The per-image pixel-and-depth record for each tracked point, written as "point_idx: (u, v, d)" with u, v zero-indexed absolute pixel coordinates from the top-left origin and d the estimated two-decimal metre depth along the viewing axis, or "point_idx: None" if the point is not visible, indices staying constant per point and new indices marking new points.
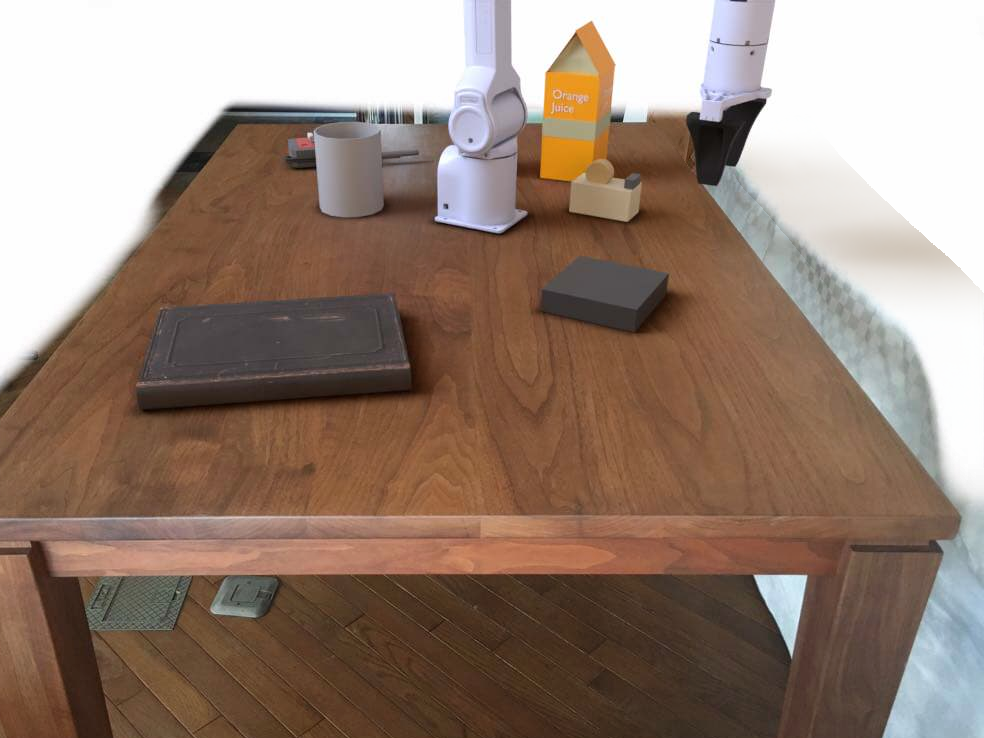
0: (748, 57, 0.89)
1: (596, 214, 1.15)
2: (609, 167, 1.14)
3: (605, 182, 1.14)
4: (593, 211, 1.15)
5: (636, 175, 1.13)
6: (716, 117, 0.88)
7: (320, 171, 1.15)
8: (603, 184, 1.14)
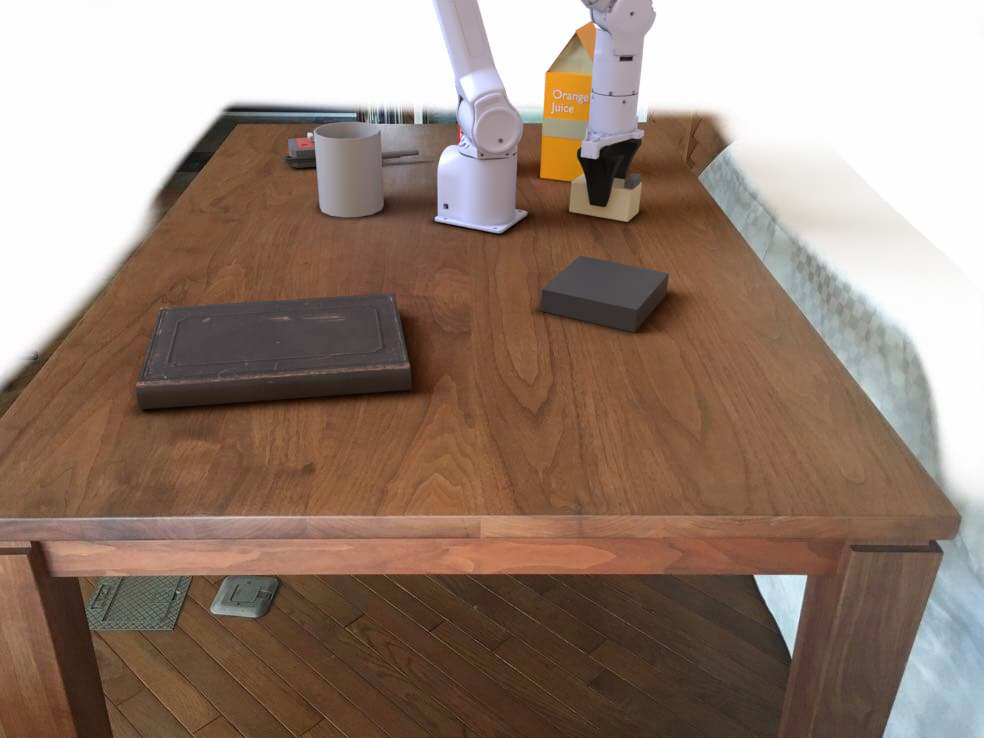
0: (621, 105, 1.07)
1: (596, 214, 1.15)
2: None
3: None
4: (593, 211, 1.15)
5: (636, 175, 1.13)
6: (593, 155, 1.07)
7: (320, 171, 1.15)
8: None
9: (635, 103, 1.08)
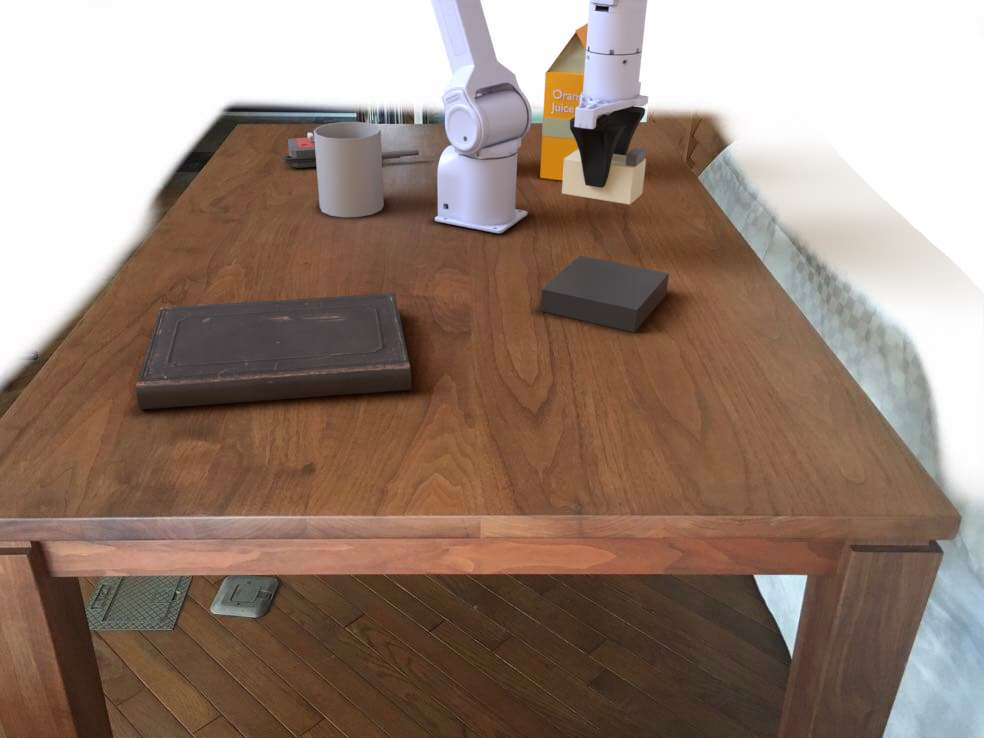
0: (621, 66, 0.91)
1: (593, 196, 0.99)
2: None
3: None
4: (590, 192, 0.99)
5: (639, 149, 0.97)
6: (589, 124, 0.90)
7: (320, 171, 1.15)
8: None
9: (638, 64, 0.92)
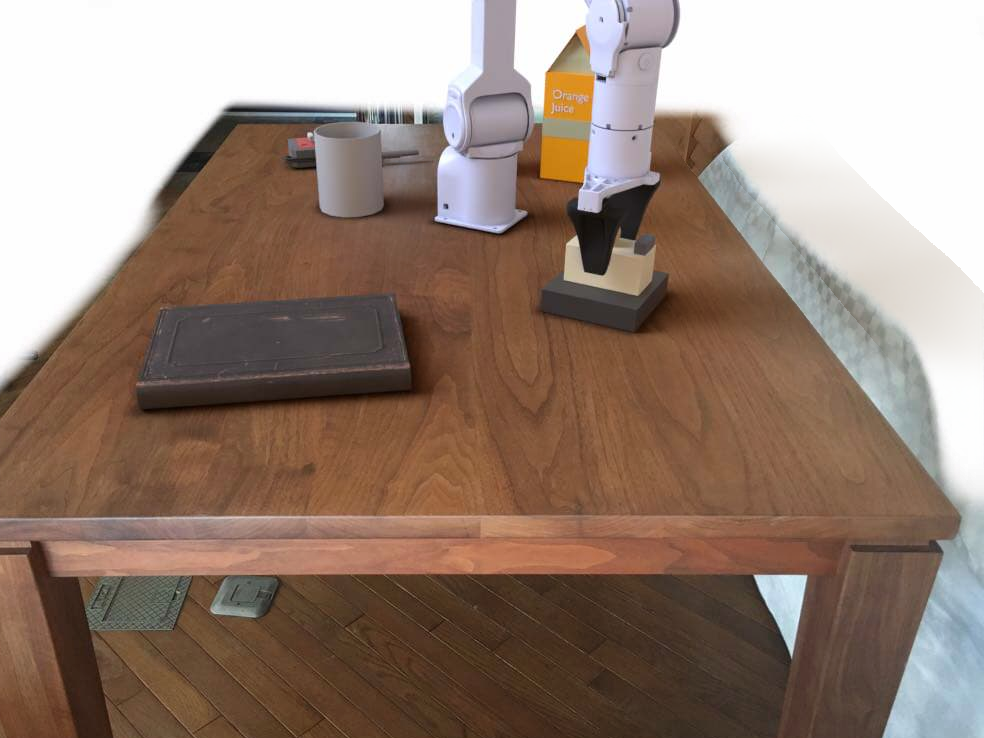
0: (630, 142, 0.82)
1: (598, 285, 0.91)
2: None
3: None
4: (594, 281, 0.91)
5: (649, 236, 0.89)
6: (594, 208, 0.81)
7: (320, 171, 1.15)
8: None
9: (648, 139, 0.83)
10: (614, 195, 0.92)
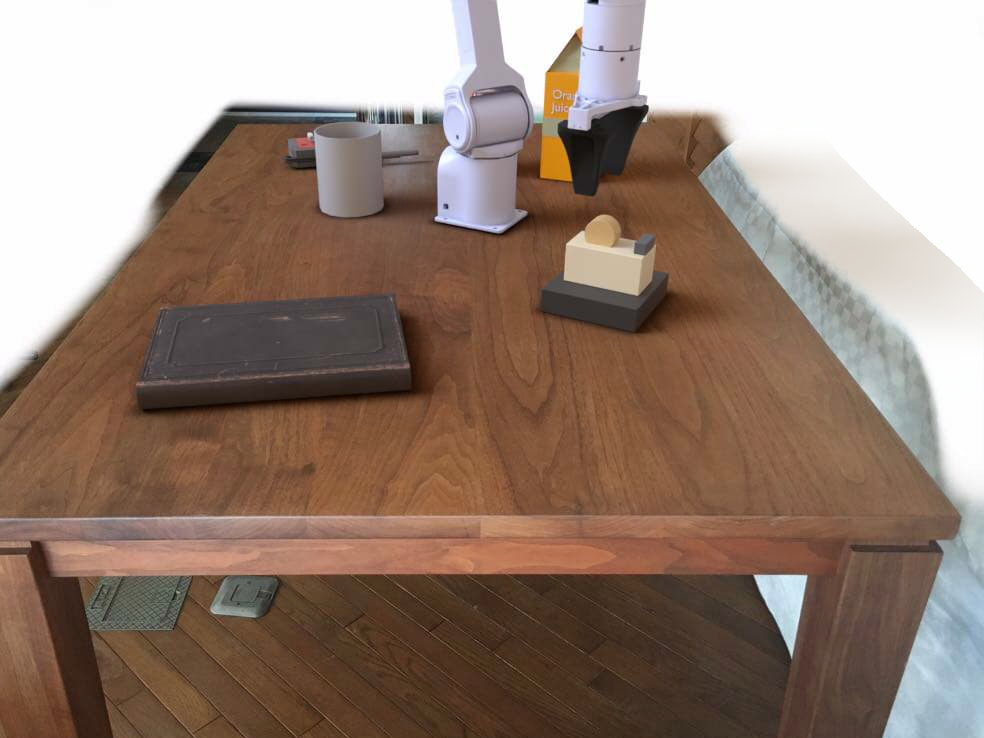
0: (618, 63, 0.85)
1: (598, 285, 0.91)
2: (615, 226, 0.89)
3: (609, 245, 0.89)
4: (594, 281, 0.91)
5: (649, 236, 0.89)
6: (583, 126, 0.85)
7: (320, 171, 1.15)
8: (607, 247, 0.89)
9: (636, 61, 0.86)
10: (604, 122, 0.95)
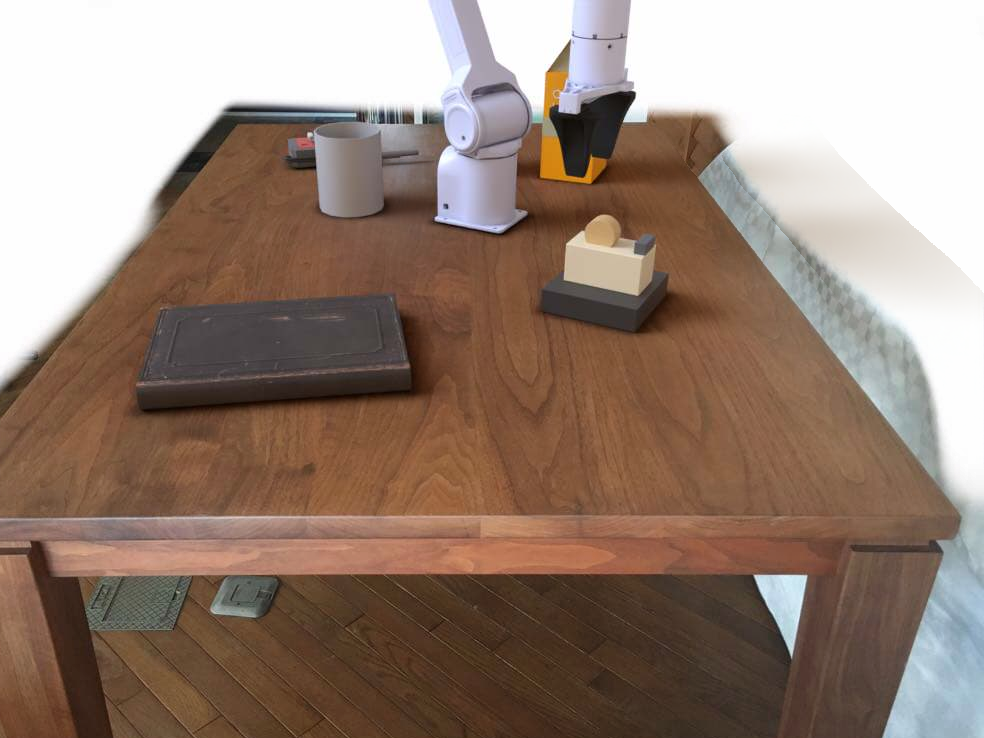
0: (606, 51, 0.90)
1: (598, 285, 0.91)
2: (615, 226, 0.89)
3: (609, 245, 0.89)
4: (594, 281, 0.91)
5: (649, 236, 0.89)
6: (573, 109, 0.90)
7: (320, 171, 1.15)
8: (607, 247, 0.89)
9: (623, 49, 0.91)
10: (594, 108, 1.00)
